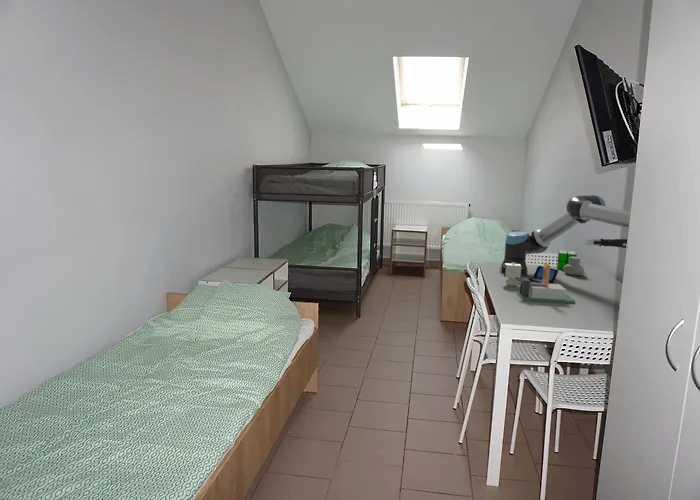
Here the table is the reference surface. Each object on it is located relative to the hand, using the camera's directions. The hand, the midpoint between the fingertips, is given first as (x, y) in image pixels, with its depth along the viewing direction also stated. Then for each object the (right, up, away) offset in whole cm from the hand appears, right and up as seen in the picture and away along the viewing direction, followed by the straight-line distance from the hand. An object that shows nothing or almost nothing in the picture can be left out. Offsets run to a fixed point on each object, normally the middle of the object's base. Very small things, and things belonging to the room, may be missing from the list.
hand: (585, 242), depth 254 cm
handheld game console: (-7, -21, +39) cm, 45 cm away
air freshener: (+18, -18, +60) cm, 65 cm away
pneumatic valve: (-26, -22, +30) cm, 45 cm away
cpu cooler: (-17, -27, +5) cm, 32 cm away
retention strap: (-24, -20, +5) cm, 31 cm away
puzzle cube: (+20, -15, +75) cm, 80 cm away
